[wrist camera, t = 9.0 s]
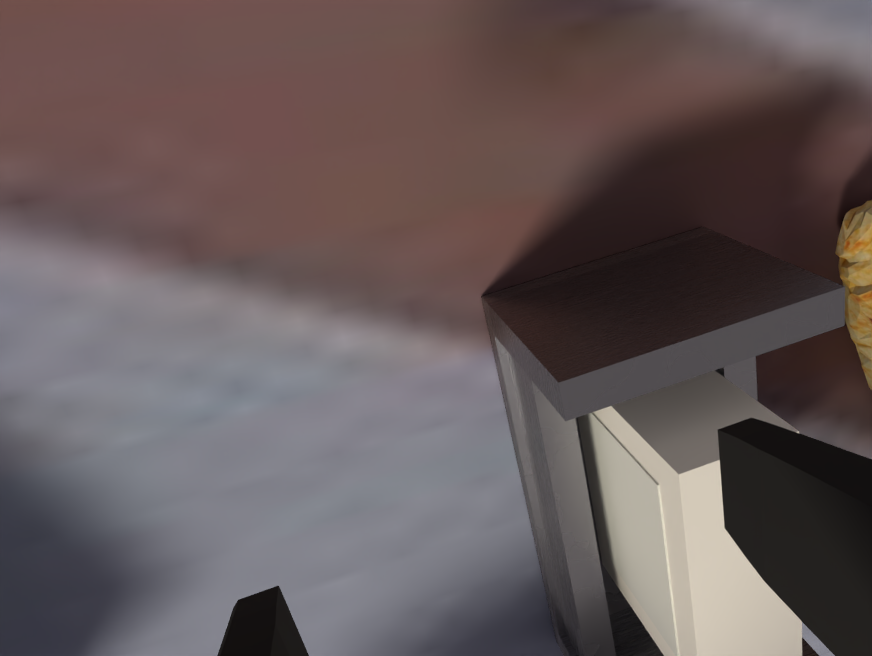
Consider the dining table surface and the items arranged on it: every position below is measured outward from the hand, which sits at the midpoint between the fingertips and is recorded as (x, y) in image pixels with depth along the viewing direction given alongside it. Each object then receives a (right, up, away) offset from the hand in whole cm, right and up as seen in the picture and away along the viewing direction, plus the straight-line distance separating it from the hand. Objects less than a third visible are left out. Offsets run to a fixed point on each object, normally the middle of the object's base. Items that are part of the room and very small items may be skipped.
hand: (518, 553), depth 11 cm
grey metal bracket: (+5, -1, +13) cm, 14 cm away
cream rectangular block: (+5, -1, +12) cm, 13 cm away
